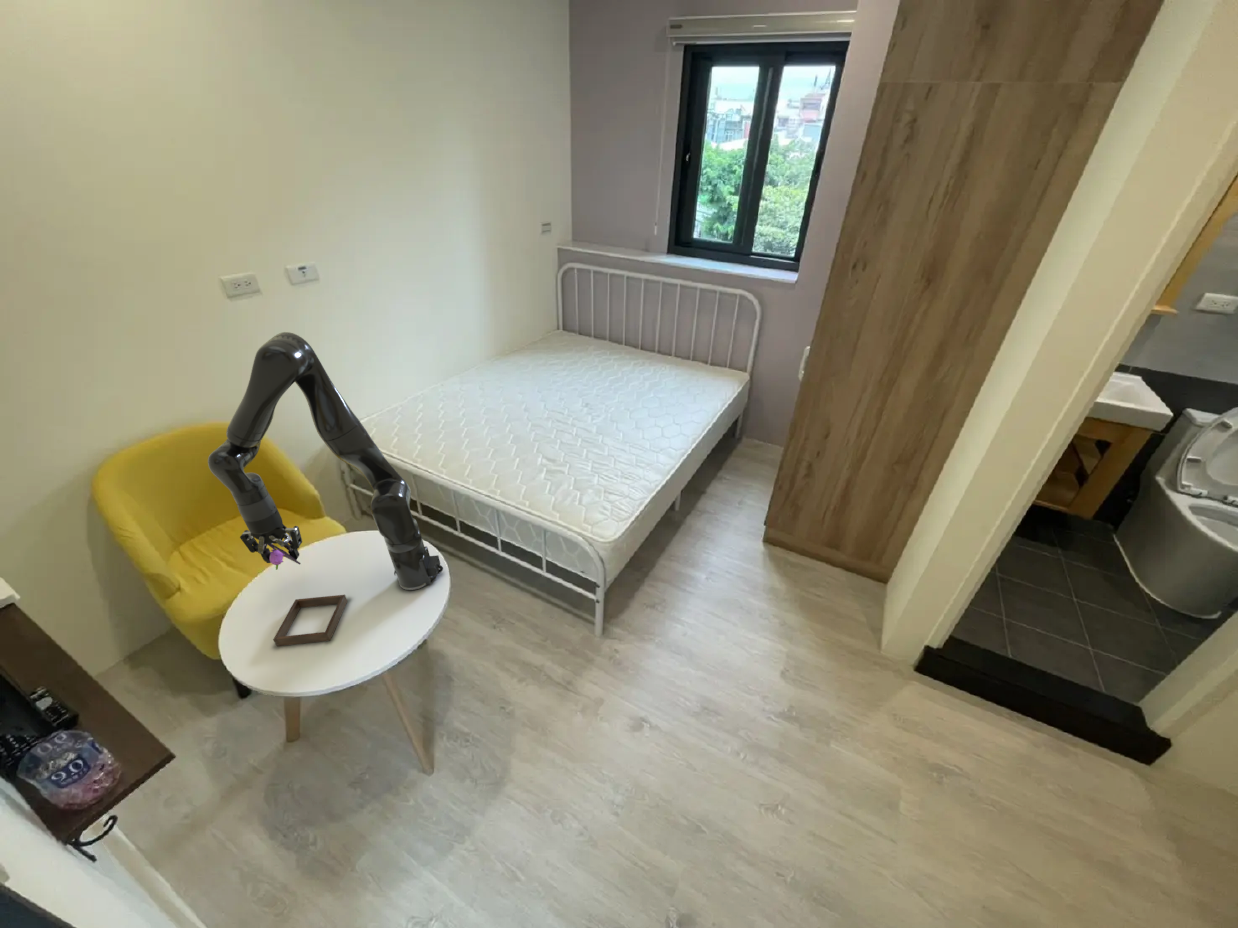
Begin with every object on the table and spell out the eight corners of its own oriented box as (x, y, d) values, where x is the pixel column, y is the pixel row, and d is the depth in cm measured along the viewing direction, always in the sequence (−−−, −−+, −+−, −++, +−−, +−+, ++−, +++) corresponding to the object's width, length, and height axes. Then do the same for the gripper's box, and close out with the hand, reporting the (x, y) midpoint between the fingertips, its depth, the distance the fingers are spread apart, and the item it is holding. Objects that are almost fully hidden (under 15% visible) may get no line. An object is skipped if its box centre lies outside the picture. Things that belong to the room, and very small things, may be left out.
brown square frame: (347, 601, 142) (344, 594, 141) (330, 640, 131) (327, 633, 130) (298, 605, 141) (295, 599, 140) (276, 646, 130) (272, 639, 128)
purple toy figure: (287, 548, 135) (267, 538, 139) (271, 565, 132) (251, 554, 136) (303, 561, 140) (283, 551, 144) (288, 577, 137) (268, 566, 141)
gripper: (221, 523, 127) (248, 572, 136) (282, 517, 128) (305, 566, 137) (237, 505, 133) (262, 553, 142) (294, 500, 134) (315, 548, 143)
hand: (283, 559), depth 139 cm, fingers closed on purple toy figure, 6 cm apart
